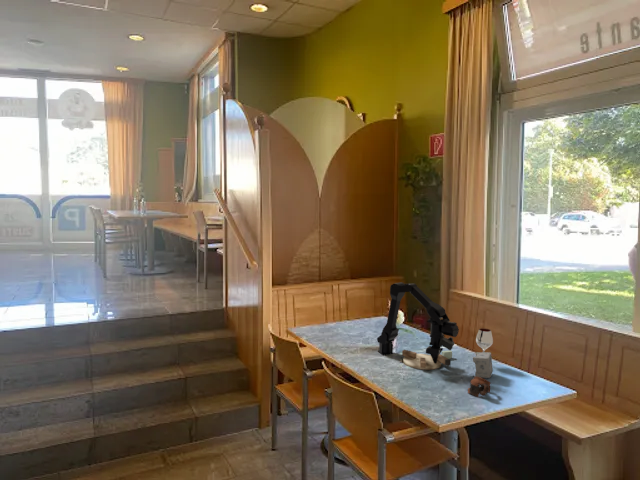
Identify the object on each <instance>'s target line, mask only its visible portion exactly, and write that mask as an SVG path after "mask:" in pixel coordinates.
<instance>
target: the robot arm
mask: <svg viewBox="0 0 640 480" xmlns="http://www.w3.org/2000/svg"><path fill="white" fill-rule="evenodd" d="M405 293H410V294H411V296H413V297H414V299H416V300H417V301H418V302H419V303H420V304H421V305H422V306H423V307H424V308H425V310H426V314H427V315H428V316H429V317H430V318H429V319H427V320H426V322H427V323H430V334H429V337H430V339H429V340H430V342H429V343H428V344H429V345H428V346H427V347H426V349H425V354H427V355H431V357H432V359H433V362H434V363H437V360H438V356H439V354H442V351H444V348H445V349H447V351H449V350H450V351H452V349H453V348H454V345H455V341H454V338H457V337H458V335H459V330H460V328H459V326H458V324H457V322H456V321H455V322H454V321H451V320H450V318H449V317H448V314H447V313H446V309H445V307H443V306H442V305H440V304H438V303H436V302H434V301H433V300H432V299H430V297H429V296H428V295H427V294H426V293H425V292H423V290H422V289H420V288H419V286H418V285H417V283H404V282H401V281H400V282H395V283H392V284H391V285H390V287H389V295H390V298H391V300H390V305H389V308H388V309H389V310H388V315H387V320H386V323H385V325H384V326H383V328H382V331H381V333H380V335H379V336H378V337H377V338H376V340H377V341H376V342H377V343H378V345H379V347H378V350H377V352H378V353H380V354H381V355H382V356H386V355H388V356H389V355H394V344H393V342H394V341H395V339H396V338H397V336H399V332H400V331H399V330H400V329H399V328H398V327H397V321H398V317H399V311H400V305H401V301H402V299H403V297H404V296H405ZM445 335H446V336H447V337H445ZM443 347H444V348H443Z"/></svg>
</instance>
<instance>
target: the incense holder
mask: <svg viewBox="0 0 640 480" xmlns="http://www.w3.org/2000/svg"><path fill="white" fill-rule="evenodd" d="M472 362H473V363H474V365H475V373H474V376H477V377H480V378H483V379H485V378H486V379H490V378H491V376H492V374H493V371H494V369H493V368H494V367H493V361H492V353H491V352H490V351H489V352H488V351H487V352H483V351H482V352H478V351H477V352H475V356H472Z"/></svg>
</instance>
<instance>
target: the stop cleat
mask: <svg viewBox="0 0 640 480" xmlns="http://www.w3.org/2000/svg"><path fill="white" fill-rule="evenodd" d="M441 355H443V356H444V357H446V358H448V359H450V360H451V359H452V358H453V351H452V350H442V352H441Z"/></svg>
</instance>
